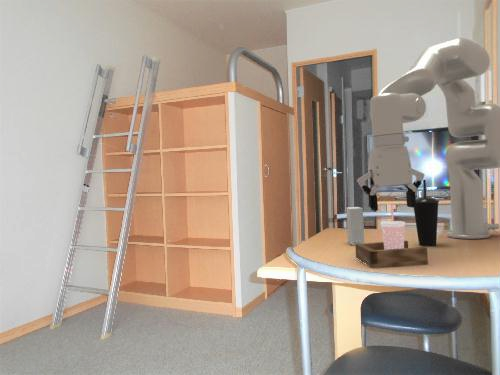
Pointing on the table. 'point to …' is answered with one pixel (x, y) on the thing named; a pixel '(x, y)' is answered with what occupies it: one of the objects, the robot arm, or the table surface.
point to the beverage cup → (393, 233)
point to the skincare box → (355, 225)
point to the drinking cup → (426, 219)
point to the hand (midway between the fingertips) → (392, 208)
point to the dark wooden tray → (390, 255)
